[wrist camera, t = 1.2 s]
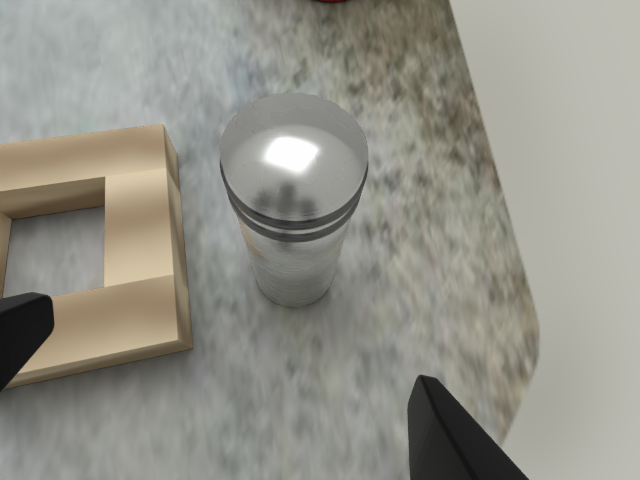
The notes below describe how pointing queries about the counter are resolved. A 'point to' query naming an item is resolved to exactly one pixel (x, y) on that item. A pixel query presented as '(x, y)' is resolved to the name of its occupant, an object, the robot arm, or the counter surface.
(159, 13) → the counter surface
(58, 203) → the tan square ring
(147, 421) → the counter surface
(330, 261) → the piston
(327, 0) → the canned food
